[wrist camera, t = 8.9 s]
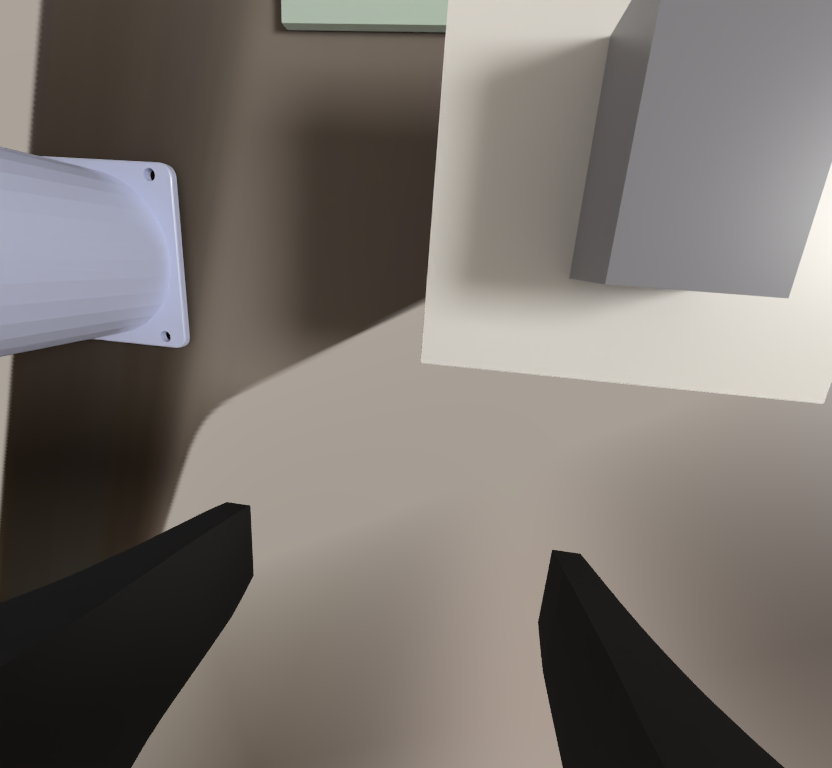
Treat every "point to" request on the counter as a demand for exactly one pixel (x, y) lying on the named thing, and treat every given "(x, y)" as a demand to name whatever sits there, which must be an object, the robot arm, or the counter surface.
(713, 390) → the lid
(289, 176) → the counter surface
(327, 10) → the mat
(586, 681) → the robot arm
